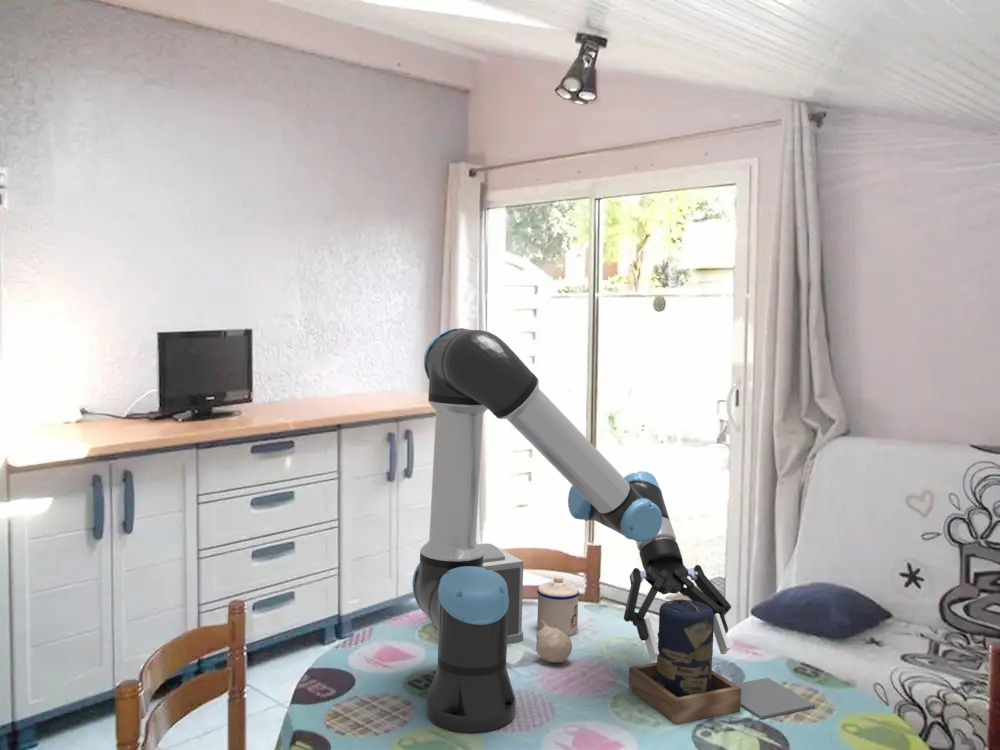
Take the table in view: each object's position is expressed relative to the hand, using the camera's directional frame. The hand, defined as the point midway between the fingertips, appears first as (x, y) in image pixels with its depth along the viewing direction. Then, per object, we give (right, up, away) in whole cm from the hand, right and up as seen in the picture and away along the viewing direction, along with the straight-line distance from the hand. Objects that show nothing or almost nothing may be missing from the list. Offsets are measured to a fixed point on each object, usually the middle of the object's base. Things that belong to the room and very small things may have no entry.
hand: (690, 654), depth 148 cm
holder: (-1, -9, +2) cm, 9 cm away
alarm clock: (-38, -6, +33) cm, 51 cm away
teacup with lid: (-21, -6, +36) cm, 42 cm away
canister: (-1, -9, +2) cm, 9 cm away
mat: (+14, -9, +3) cm, 17 cm away
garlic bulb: (-23, -7, +18) cm, 30 cm away
